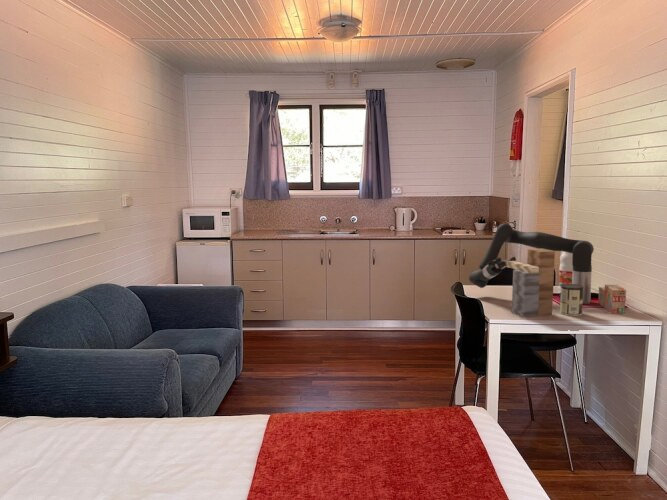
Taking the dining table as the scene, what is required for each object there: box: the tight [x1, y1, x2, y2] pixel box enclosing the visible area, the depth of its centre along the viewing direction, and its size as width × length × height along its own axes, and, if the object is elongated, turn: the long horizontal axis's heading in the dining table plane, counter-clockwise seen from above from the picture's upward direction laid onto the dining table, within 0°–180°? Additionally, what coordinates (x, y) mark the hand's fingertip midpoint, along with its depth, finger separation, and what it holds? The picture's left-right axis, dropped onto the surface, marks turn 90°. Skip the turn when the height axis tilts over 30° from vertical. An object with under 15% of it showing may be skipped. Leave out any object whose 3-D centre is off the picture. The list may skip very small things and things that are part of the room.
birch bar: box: [506, 260, 539, 274], centre depth 256 cm, size 20×4×3 cm, turn 15°
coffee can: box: [559, 284, 584, 317], centre depth 256 cm, size 10×10×14 cm
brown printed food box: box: [598, 284, 627, 315], centre depth 265 cm, size 21×6×12 cm, turn 169°
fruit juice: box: [558, 251, 573, 291], centre depth 308 cm, size 9×9×28 cm
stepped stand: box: [511, 248, 556, 318], centre depth 255 cm, size 10×16×32 cm, turn 105°
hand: (507, 258), depth 268 cm, fingers open, 8 cm apart
